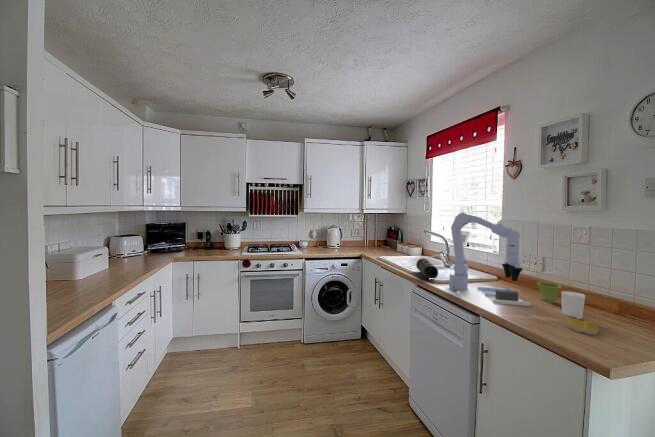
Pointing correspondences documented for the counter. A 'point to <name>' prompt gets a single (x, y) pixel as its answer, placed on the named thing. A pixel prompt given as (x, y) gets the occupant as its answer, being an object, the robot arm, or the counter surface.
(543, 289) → the plant pot
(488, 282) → the counter surface
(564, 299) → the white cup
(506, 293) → the dark gray rectangular block
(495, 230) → the robot arm
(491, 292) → the tray
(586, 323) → the bread roll
